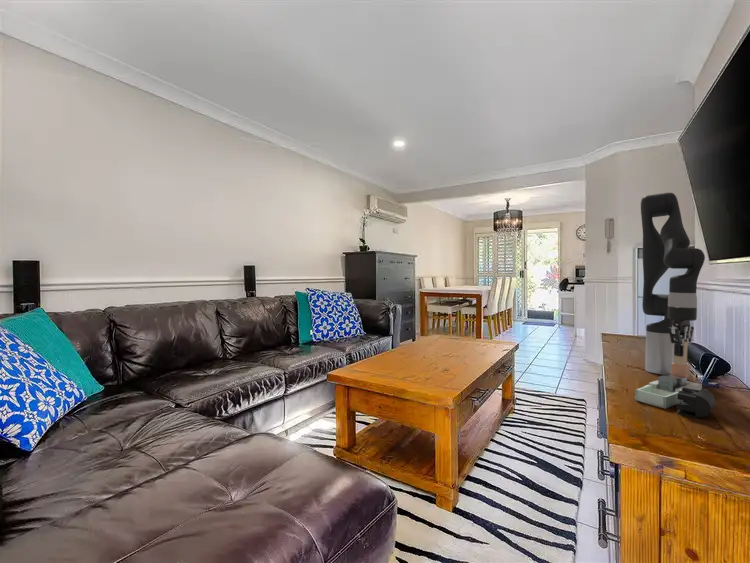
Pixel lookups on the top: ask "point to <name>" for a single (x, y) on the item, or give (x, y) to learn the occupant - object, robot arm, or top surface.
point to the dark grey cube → (667, 383)
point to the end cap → (695, 402)
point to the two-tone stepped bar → (681, 363)
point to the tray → (656, 397)
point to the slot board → (663, 392)
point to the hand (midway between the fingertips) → (680, 355)
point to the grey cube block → (680, 380)
